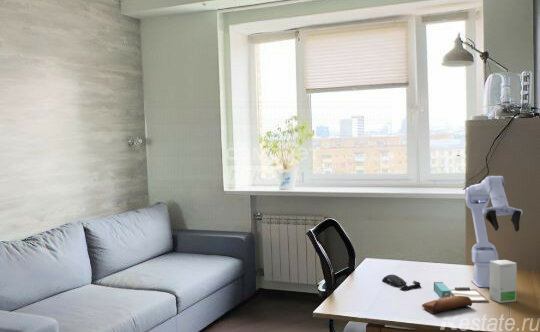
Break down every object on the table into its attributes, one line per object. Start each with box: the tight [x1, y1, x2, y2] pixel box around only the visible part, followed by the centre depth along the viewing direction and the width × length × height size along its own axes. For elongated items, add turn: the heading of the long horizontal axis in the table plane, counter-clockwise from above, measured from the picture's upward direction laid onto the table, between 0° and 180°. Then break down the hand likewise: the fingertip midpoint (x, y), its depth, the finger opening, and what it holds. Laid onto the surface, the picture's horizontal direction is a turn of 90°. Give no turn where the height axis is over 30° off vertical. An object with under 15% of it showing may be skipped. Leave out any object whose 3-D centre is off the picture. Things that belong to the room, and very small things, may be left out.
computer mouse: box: [381, 274, 422, 292], centre depth 232 cm, size 12×18×4 cm
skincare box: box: [488, 259, 518, 304], centre depth 208 cm, size 8×7×16 cm
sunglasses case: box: [421, 296, 473, 315], centre depth 200 cm, size 18×7×7 cm
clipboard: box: [450, 286, 490, 303], centre depth 213 cm, size 14×12×2 cm
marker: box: [433, 281, 451, 298], centre depth 214 cm, size 15×4×4 cm, turn 178°
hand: (507, 229), depth 197 cm, fingers open, 7 cm apart
